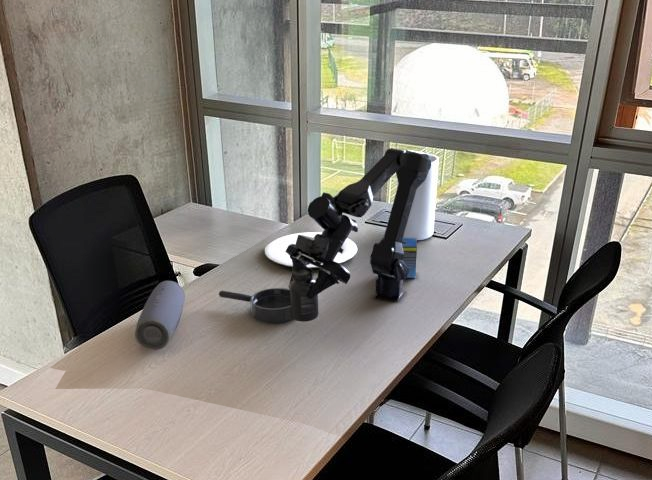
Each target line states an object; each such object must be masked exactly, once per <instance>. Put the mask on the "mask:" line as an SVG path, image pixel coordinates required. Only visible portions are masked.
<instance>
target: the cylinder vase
mask: <svg viewBox="0 0 652 480" xmlns="http://www.w3.org/2000/svg"><path fill="white" fill-rule="evenodd" d="M427 154H428V155H429V157H430V160H431V168H430V170H429V173H428V175H427V178H426V180H425V181H424V182H423V183H422V184H421V185H420V186H419V187H418V188H417V190H416V194H415V197H414V201H413V204H412V208H411V211H410V215H409V218H408V222H407V225H406V229H405V232H404V236H403V238H417V241H422V240H427V239H430V238H431V237H432V236H433V234H434V229H435V215H436V214H435V213H436V200H437V185H438V174H439V173H438V172H439V159H440V158H439V156H437V155H434V154H431V153H427ZM396 179H397V178H396ZM397 188H398V179H397V180H396V189H397Z"/></svg>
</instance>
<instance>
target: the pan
mask: <svg viewBox="0 0 652 480" xmlns="http://www.w3.org/2000/svg"><path fill="white" fill-rule="evenodd" d="M252 295H253V296H252V297H251V300H250V302H249V303H250V312H251V315H252V316H253V317H254V319H256V320H257V321H259V322H263V323H267V324H282V323H286V322H289V321H292V320H294V319H293V318H292V316H291V305H290V289H289V288H282V287H272V288H265V289H261V290H258V291H256V292H254V293H253V294H252Z"/></svg>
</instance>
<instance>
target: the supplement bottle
mask: <svg viewBox="0 0 652 480" xmlns="http://www.w3.org/2000/svg"><path fill="white" fill-rule="evenodd" d="M315 281H316V279H314V271H313V269H312V268H297V269H295V270H294V271H293V281H292V282H291V283H290V282H289V283H290V286H289V285H288V289H289V290H290V305H291V316H292V318H293V319H292V320H294V321H296V322H301V323H305V322H312V321H314V320H316V319H317V318H318V317H319V313H320V312H319V294H318V295H316V296H315V297H313V298H311V299H309V298H308V297H307V296H308V294H309V291H310V290H311V288H312V286H313V284H314V282H315Z"/></svg>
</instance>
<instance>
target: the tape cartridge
mask: <svg viewBox="0 0 652 480" xmlns="http://www.w3.org/2000/svg"><path fill="white" fill-rule="evenodd" d="M402 247H403V251H404V259H403V263H404V264H405V265H406V266H407V267H408V268H409V273H408V276H407V277H405V279H416V277H417V259H418V258H417V256H418V240H417V238H403V239H402Z"/></svg>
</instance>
